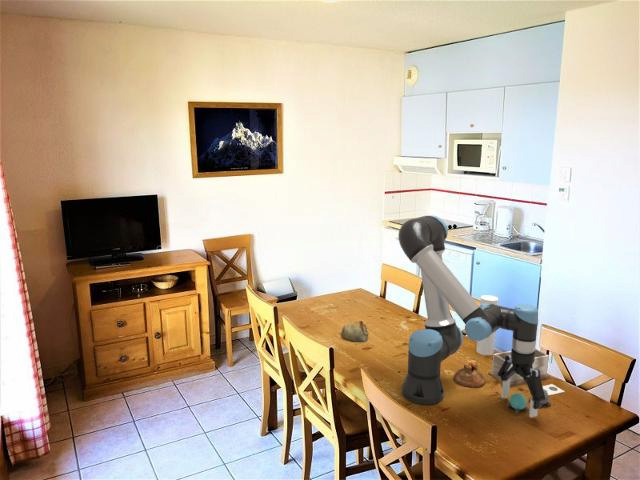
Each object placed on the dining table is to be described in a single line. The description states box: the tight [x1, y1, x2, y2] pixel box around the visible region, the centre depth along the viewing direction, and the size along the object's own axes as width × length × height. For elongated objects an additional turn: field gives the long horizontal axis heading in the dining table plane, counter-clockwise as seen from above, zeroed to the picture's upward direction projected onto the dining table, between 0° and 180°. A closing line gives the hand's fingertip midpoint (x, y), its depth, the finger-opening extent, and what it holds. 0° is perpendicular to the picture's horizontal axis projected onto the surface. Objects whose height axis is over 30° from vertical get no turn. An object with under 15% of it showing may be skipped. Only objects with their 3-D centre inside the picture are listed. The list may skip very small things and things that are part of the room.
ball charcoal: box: [540, 389, 550, 405], centre depth 180 cm, size 6×6×6 cm
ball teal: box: [509, 392, 528, 411], centre depth 176 cm, size 6×6×6 cm
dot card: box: [542, 383, 565, 396], centre depth 189 cm, size 10×6×1 cm, turn 111°
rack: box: [488, 348, 551, 387], centre depth 199 cm, size 21×11×9 cm, turn 111°
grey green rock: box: [341, 320, 370, 343], centre depth 236 cm, size 14×12×8 cm
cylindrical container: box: [476, 294, 499, 356], centre depth 219 cm, size 7×7×25 cm
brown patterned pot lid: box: [453, 361, 486, 389], centre depth 196 cm, size 12×12×7 cm
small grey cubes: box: [505, 397, 552, 415], centre depth 178 cm, size 15×5×1 cm, turn 111°
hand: (518, 406), depth 176 cm, fingers open, 13 cm apart
